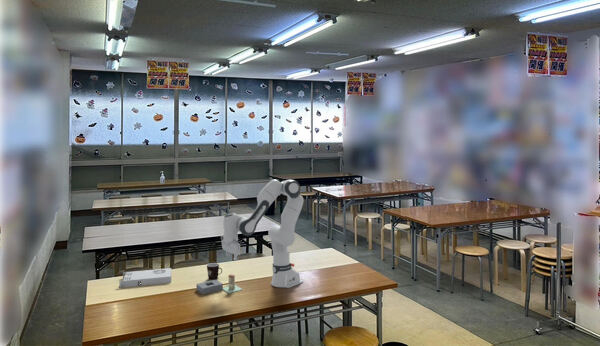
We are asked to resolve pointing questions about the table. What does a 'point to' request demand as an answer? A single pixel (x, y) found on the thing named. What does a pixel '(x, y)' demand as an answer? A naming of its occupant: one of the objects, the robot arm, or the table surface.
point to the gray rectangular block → (209, 286)
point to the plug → (231, 281)
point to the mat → (231, 290)
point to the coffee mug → (213, 271)
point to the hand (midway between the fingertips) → (231, 258)
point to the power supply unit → (146, 277)
